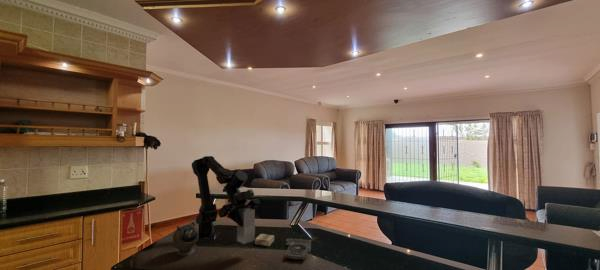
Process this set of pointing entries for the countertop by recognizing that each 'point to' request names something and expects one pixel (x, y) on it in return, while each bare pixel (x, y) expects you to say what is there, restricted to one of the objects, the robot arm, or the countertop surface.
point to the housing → (246, 226)
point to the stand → (264, 239)
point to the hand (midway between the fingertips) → (248, 224)
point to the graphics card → (297, 249)
